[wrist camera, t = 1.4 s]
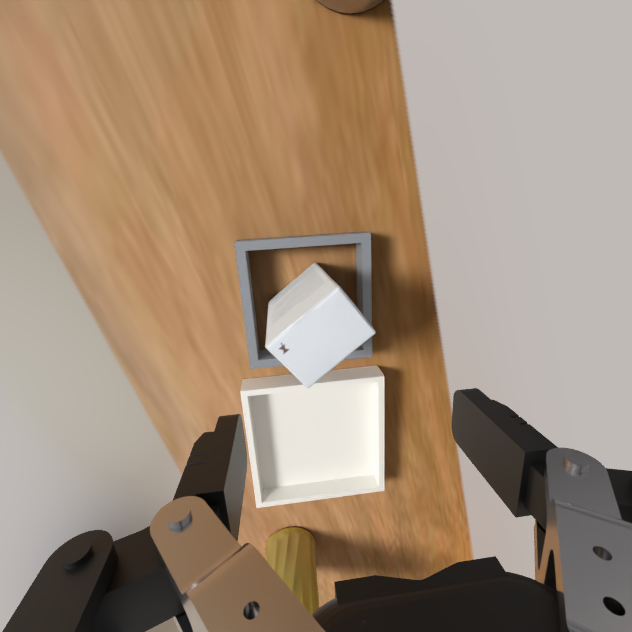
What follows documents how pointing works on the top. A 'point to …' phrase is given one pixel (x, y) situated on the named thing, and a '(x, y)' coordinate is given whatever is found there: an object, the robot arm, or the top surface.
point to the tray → (315, 435)
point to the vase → (295, 563)
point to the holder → (360, 238)
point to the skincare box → (314, 325)
